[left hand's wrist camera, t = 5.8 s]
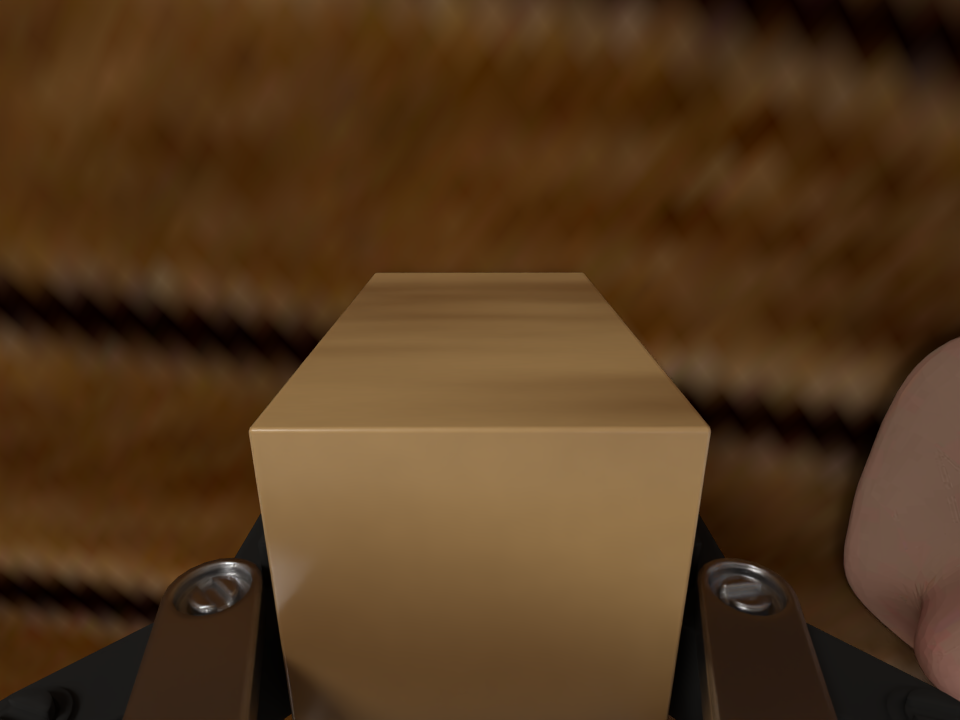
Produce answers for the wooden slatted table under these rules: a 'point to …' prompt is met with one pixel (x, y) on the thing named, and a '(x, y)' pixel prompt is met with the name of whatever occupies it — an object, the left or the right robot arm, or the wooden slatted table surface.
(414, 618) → the bar
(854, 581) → the anatomical model
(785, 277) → the wooden slatted table surface
